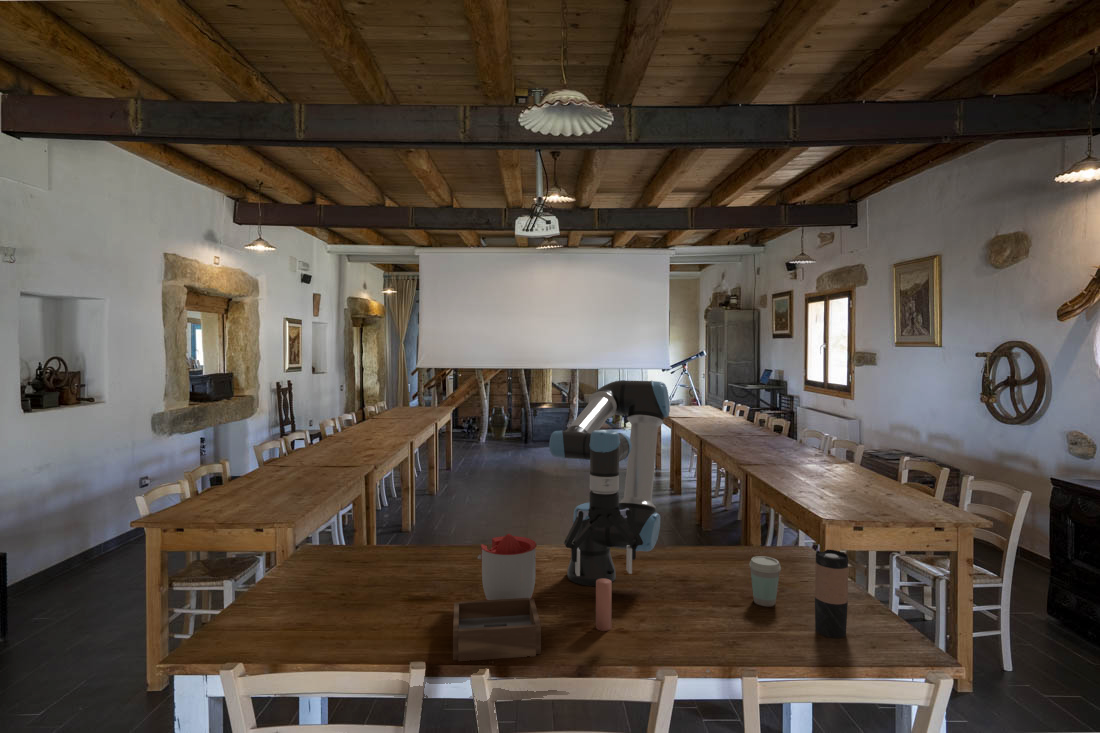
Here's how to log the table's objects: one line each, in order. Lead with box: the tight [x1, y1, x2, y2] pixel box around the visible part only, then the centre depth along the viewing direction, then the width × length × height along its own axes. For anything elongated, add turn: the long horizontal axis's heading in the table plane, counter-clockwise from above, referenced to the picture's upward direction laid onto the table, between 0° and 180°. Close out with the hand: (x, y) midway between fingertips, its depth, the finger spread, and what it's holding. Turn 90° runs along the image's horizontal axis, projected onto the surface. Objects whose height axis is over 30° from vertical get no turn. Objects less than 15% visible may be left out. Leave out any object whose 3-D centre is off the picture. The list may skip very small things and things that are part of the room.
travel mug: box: [814, 549, 849, 639], centre depth 153 cm, size 8×8×20 cm
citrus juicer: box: [477, 533, 537, 600], centre depth 170 cm, size 16×17×20 cm
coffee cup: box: [748, 555, 782, 607], centre depth 171 cm, size 8×8×12 cm
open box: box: [452, 598, 542, 662], centre depth 148 cm, size 16×20×7 cm
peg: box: [595, 578, 613, 632], centre depth 155 cm, size 4×4×12 cm
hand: (603, 573), depth 155 cm, fingers open, 13 cm apart
